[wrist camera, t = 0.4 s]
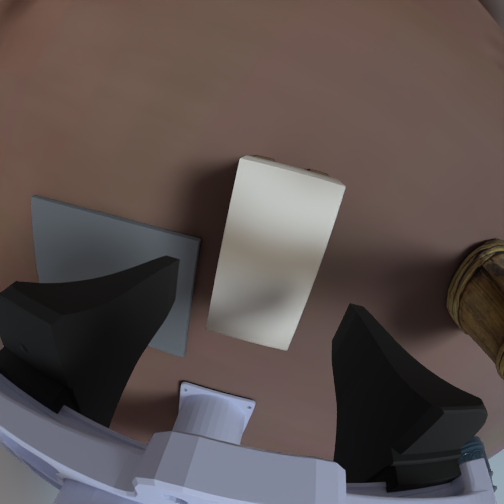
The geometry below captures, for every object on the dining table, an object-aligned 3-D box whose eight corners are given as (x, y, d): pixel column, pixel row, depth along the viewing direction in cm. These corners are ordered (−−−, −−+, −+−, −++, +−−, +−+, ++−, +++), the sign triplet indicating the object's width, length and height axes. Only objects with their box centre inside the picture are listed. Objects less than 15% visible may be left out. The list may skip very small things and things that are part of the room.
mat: (201, 238, 21) (198, 241, 21) (185, 353, 26) (183, 357, 25) (35, 194, 22) (30, 196, 21) (45, 296, 27) (42, 299, 26)
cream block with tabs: (289, 298, 22) (286, 350, 17) (226, 282, 22) (205, 329, 17) (329, 171, 18) (345, 186, 13) (255, 151, 18) (239, 158, 13)
